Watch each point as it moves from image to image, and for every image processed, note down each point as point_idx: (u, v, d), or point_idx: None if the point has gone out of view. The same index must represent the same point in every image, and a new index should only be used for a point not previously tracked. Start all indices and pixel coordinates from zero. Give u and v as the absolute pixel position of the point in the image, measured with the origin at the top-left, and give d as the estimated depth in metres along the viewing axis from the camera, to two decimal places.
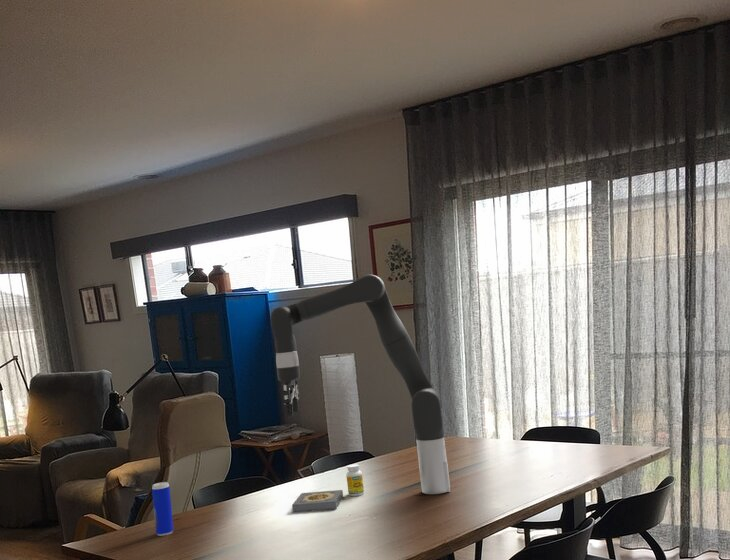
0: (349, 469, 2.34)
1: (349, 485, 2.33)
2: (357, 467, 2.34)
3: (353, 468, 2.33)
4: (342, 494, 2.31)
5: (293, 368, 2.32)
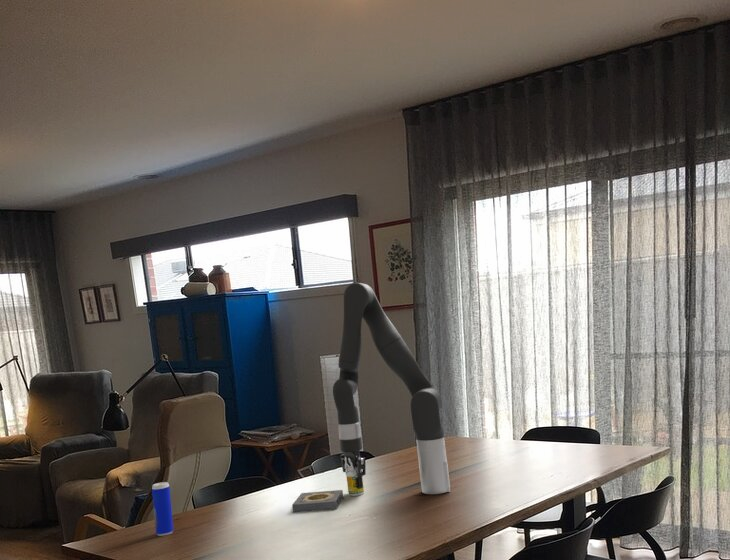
0: (349, 469, 2.34)
1: (349, 485, 2.33)
2: None
3: None
4: (342, 494, 2.31)
5: (360, 438, 2.35)
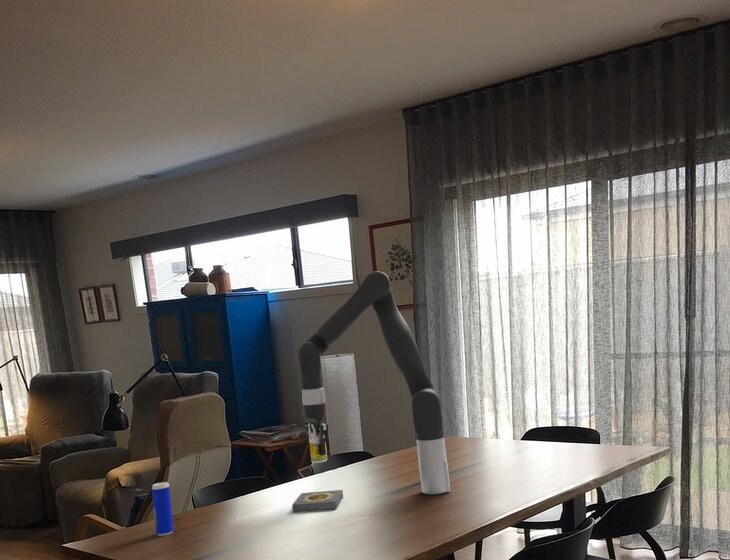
0: (312, 435, 2.28)
1: (312, 452, 2.27)
2: None
3: None
4: (342, 494, 2.31)
5: (324, 404, 2.29)
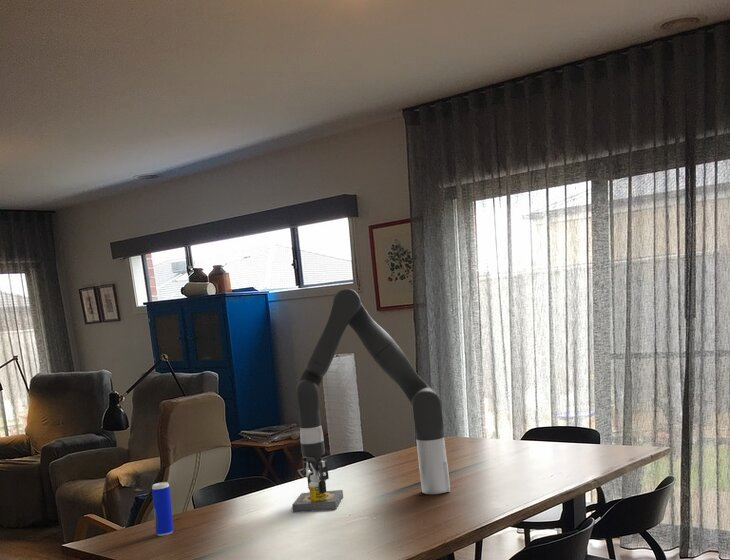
0: (311, 479, 2.25)
1: (312, 495, 2.24)
2: None
3: (315, 478, 2.25)
4: (342, 494, 2.31)
5: (323, 442, 2.26)
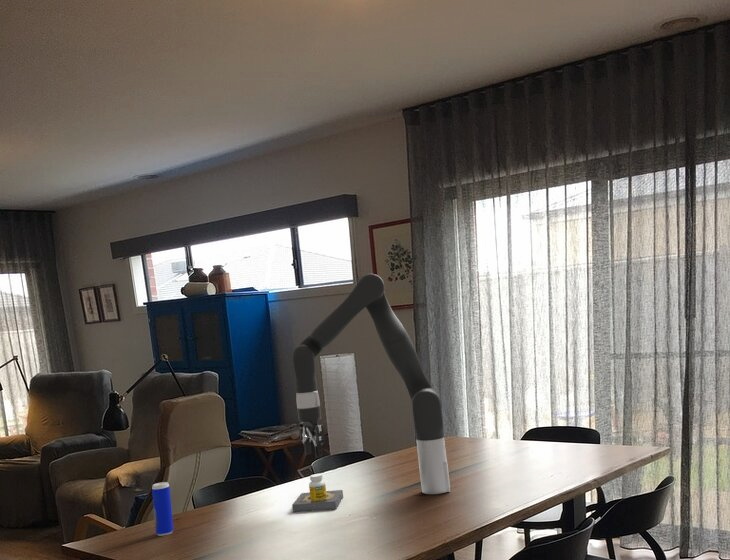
0: (312, 479, 2.25)
1: (312, 495, 2.24)
2: (320, 477, 2.25)
3: (316, 478, 2.25)
4: (342, 494, 2.31)
5: (319, 407, 2.27)
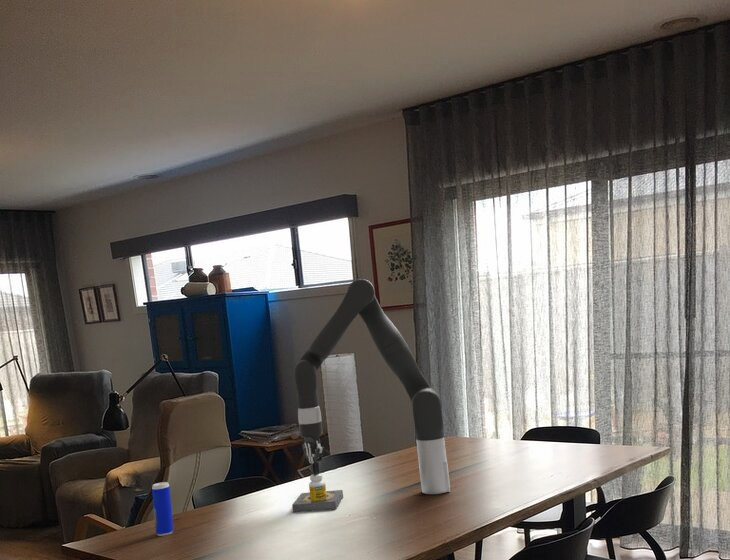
0: (312, 479, 2.25)
1: (312, 495, 2.24)
2: (320, 477, 2.25)
3: (316, 478, 2.25)
4: (342, 494, 2.31)
5: (320, 423, 2.27)
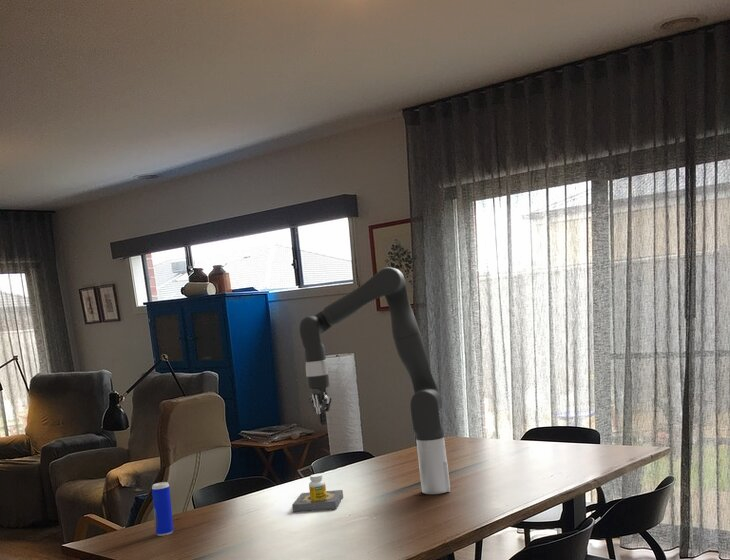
0: (311, 479, 2.25)
1: (312, 495, 2.24)
2: (320, 477, 2.25)
3: (316, 478, 2.25)
4: (342, 494, 2.31)
5: (327, 376, 2.38)
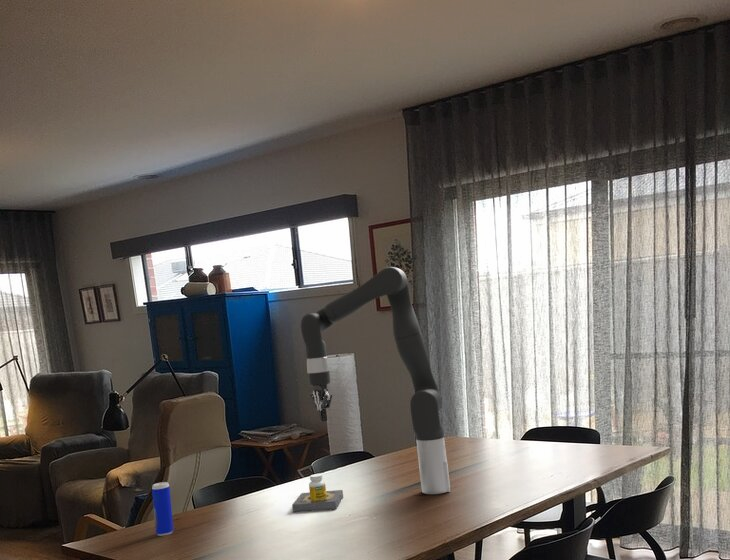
0: (312, 479, 2.25)
1: (312, 495, 2.24)
2: (320, 477, 2.25)
3: (316, 478, 2.25)
4: (342, 494, 2.31)
5: (328, 372, 2.39)
